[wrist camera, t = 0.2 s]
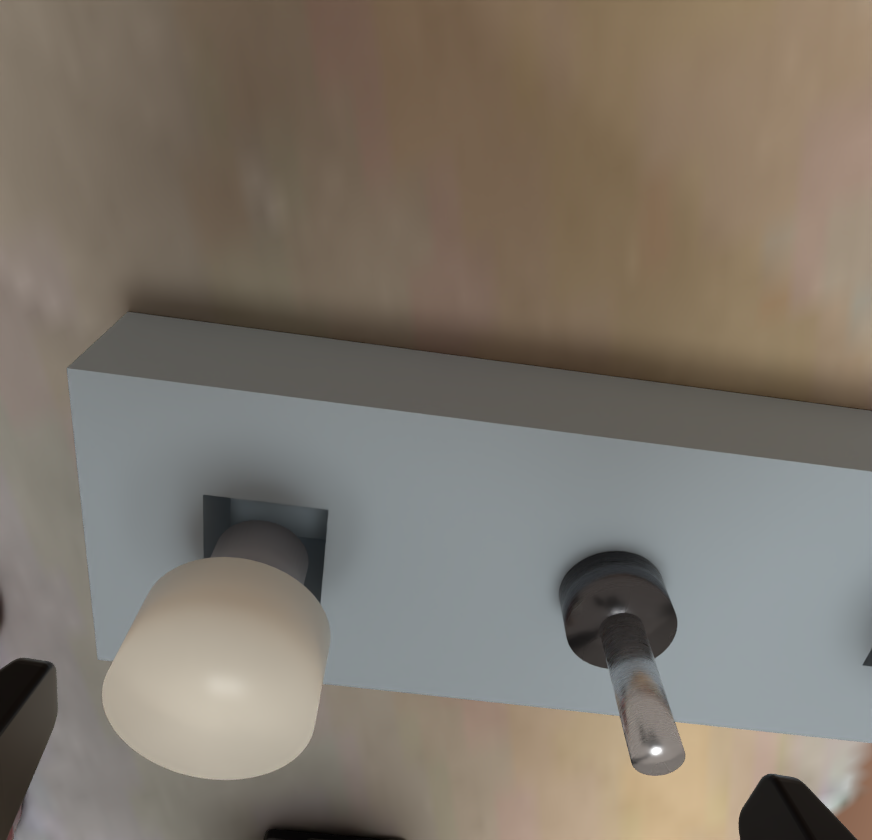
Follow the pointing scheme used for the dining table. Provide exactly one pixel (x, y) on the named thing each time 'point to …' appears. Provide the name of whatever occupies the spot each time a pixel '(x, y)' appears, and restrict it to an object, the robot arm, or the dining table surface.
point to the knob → (224, 660)
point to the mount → (489, 514)
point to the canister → (14, 825)
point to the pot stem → (627, 647)
